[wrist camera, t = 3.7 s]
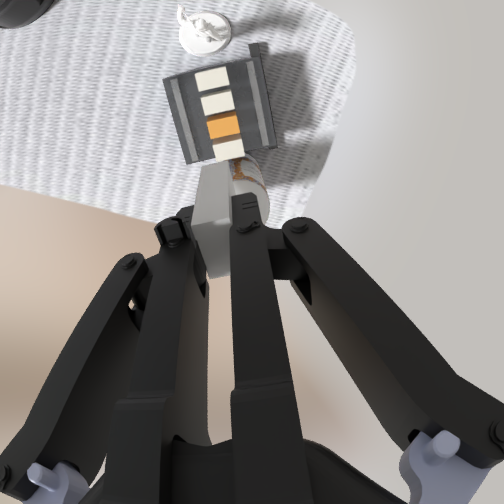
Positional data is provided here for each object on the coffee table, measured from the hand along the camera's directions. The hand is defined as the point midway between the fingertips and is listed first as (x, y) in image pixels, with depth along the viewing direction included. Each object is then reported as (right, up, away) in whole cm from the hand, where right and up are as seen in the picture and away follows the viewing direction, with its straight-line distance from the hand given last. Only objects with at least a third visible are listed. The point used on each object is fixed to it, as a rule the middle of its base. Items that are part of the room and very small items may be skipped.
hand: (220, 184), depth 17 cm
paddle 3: (-2, +12, +19) cm, 22 cm away
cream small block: (-1, +10, +20) cm, 23 cm away
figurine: (-5, +26, +16) cm, 31 cm away
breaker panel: (-2, +17, +23) cm, 28 cm away
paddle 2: (-2, +15, +17) cm, 23 cm away
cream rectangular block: (-3, +17, +15) cm, 23 cm away
